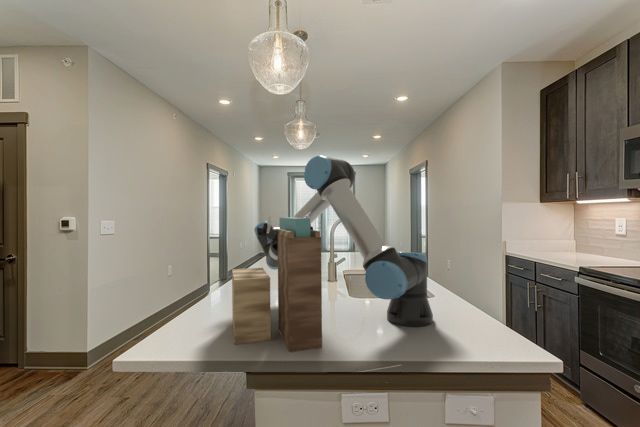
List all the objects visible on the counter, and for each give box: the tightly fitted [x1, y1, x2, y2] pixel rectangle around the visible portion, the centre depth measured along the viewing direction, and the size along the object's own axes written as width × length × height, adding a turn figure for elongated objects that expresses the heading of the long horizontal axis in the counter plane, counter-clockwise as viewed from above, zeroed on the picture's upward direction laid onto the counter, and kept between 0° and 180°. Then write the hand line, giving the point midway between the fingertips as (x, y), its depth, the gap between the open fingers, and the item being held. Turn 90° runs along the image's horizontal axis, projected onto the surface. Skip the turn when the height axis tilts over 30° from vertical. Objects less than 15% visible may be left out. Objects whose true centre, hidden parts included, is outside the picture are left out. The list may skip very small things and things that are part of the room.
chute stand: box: [277, 229, 323, 353], centre depth 94 cm, size 17×9×32 cm, turn 17°
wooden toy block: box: [231, 267, 272, 345], centre depth 100 cm, size 18×10×18 cm, turn 17°
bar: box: [278, 216, 310, 237], centre depth 101 cm, size 26×4×5 cm, turn 17°
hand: (289, 219), depth 105 cm, fingers open, 12 cm apart
